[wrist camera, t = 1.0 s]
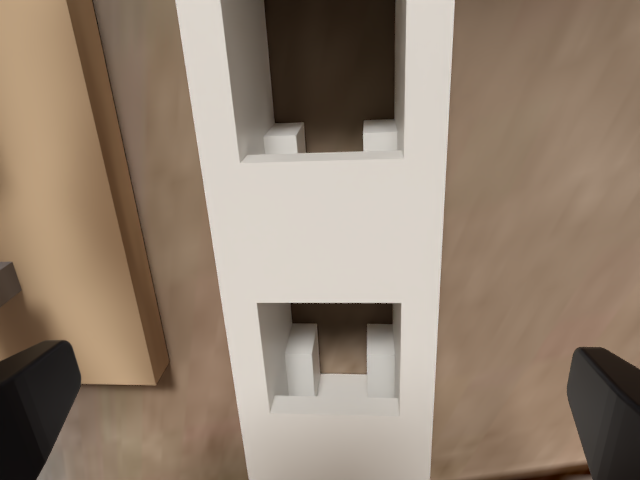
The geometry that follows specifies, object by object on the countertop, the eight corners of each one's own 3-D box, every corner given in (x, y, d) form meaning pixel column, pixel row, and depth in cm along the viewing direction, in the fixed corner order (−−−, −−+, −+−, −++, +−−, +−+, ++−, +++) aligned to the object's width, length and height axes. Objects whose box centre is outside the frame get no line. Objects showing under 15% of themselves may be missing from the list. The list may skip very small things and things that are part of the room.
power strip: (220, -104, 14) (151, -160, 10) (433, -122, 14) (464, -190, 9) (275, 391, 22) (250, 491, 17) (415, 394, 21) (429, 498, 16)
